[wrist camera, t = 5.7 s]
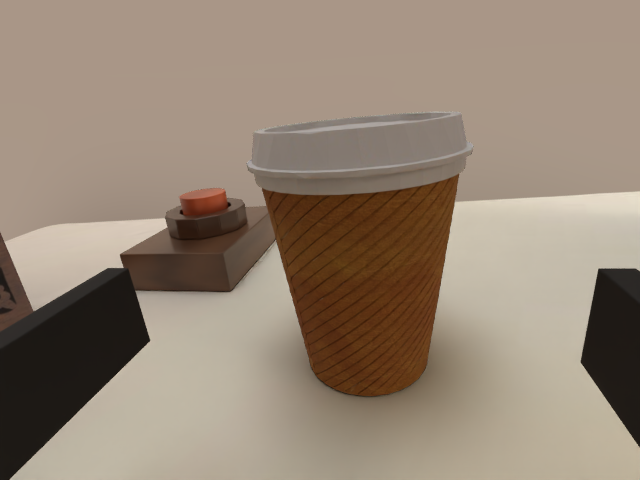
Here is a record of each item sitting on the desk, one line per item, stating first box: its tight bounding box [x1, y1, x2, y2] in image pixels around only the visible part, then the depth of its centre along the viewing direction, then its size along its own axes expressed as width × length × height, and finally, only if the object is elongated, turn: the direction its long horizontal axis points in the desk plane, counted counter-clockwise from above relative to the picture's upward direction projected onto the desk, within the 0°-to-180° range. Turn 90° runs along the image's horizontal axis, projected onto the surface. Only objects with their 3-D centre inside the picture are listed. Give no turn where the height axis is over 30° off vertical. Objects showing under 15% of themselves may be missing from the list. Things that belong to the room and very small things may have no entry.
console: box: [120, 198, 276, 291], centre depth 34 cm, size 9×13×5 cm
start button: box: [180, 188, 228, 216], centre depth 33 cm, size 4×4×2 cm
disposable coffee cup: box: [247, 112, 474, 396], centre depth 18 cm, size 10×10×12 cm
